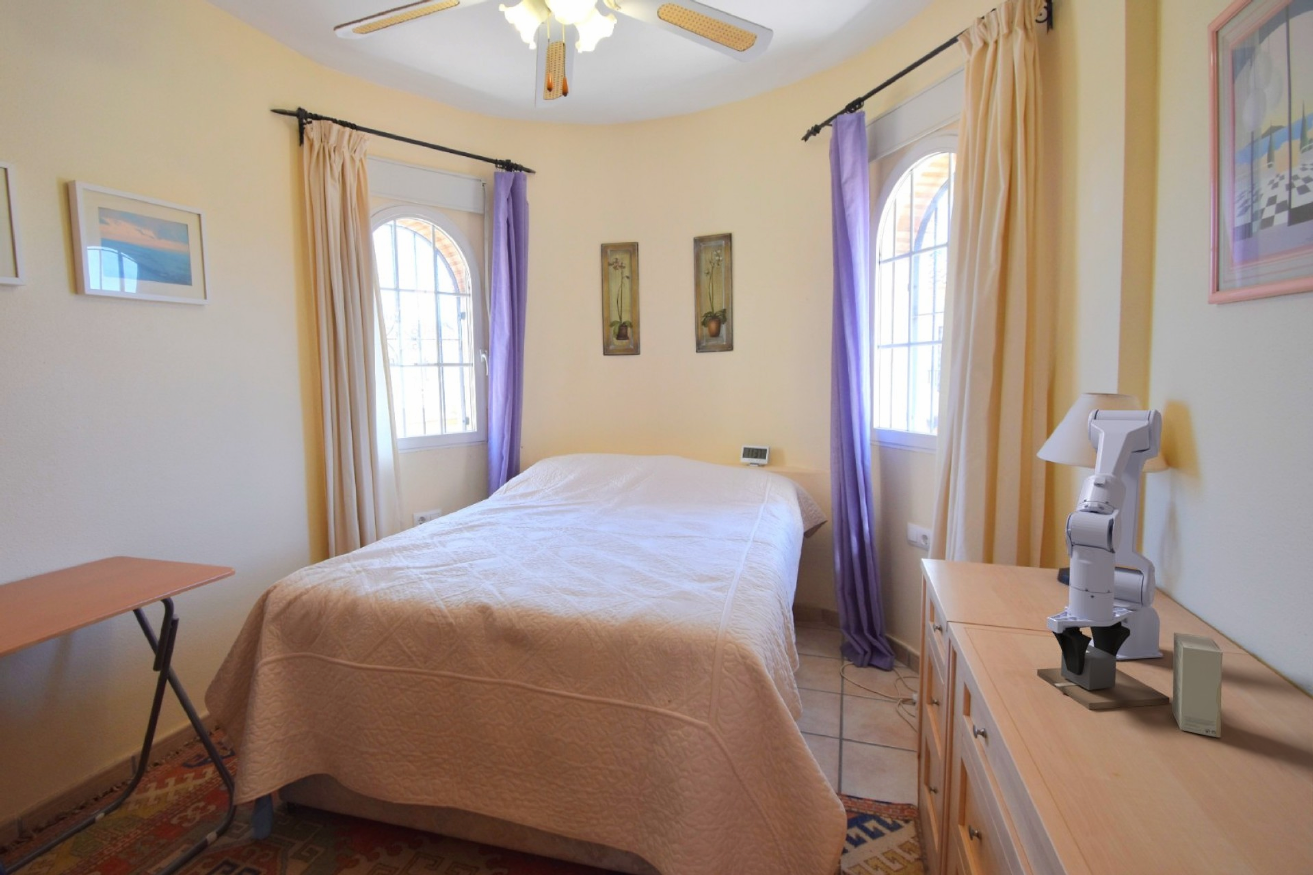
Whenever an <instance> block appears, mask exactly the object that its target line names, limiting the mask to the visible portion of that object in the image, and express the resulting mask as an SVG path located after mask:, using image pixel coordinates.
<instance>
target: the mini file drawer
mask: <svg viewBox="0 0 1313 875" xmlns="http://www.w3.org/2000/svg"><path fill="white" fill-rule="evenodd" d="M1060 665H1061V667H1060V668H1061V676H1063V677H1065V678H1067V679H1069V680H1071V681H1072V682H1074V683H1076V684H1078V685H1080V686H1082V687H1084V688H1086V689H1088V690H1094V689H1101V688H1108V687H1115V679H1116V668H1117V660H1116V656H1113V655H1111V654H1109V653H1107V652H1104V651H1102V650H1100V649H1098V648H1095V647H1093V646H1091V645H1088V647H1087V650H1086V653H1085V658H1084V668H1083V672H1082V675H1076V674H1074V673H1072V672H1070V671H1068V670H1067V667H1066V663H1065V660H1064V656H1063V653H1062V652H1061V664H1060Z"/></svg>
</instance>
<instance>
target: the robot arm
mask: <svg viewBox="0 0 1313 875" xmlns="http://www.w3.org/2000/svg"><path fill="white" fill-rule="evenodd" d="M1162 424H1163V420H1162V414H1161V412H1159V410H1158V409H1152V410H1149V409H1147V410H1143V409H1142V410H1139V409H1138V410H1137V409H1136V410H1133V409H1131V410H1128V409H1126V410H1125V409H1124V410H1123V409H1121V410H1120V409H1116V410H1115V409H1114V410H1113V409H1112V410H1111V409H1110V410H1109V409H1097V408H1096V409H1092V411H1091V412H1090V413H1089V415H1088V419H1087V430H1086V432H1087V438H1088V441H1089V442H1090V443H1091V446H1092V448H1093V449H1094V452H1095V453H1096V461H1095V465H1094V466H1095V469H1094V474H1092V475H1089V476H1087V477H1086V478H1085V479H1084V481H1083V484H1082V487H1081V491H1080V493H1079V494H1080V495H1079V498H1078V502H1077V504H1076V509H1075V512H1074V513H1071V512H1070V513H1069V514H1068V516H1067V518H1066V522H1065V540H1066V547H1067V548H1066V549H1067V552H1066V554H1067V557H1069V559H1070V560H1069V586H1068V587H1069V590H1068V591H1069V594H1068V605H1065V606H1064V611H1061V612H1059V613H1057V614H1054V615H1051V616H1050V615H1049V616H1047V617H1046V619H1047V620H1046V629H1047V630H1050V631H1051V632H1052V634H1053V636H1054V637H1055V639H1056V640H1057V643H1058V644H1059V647H1060V650H1061V654H1062V653H1063V656H1064V660H1065V663H1066V667H1067V670H1068V671H1070V672H1072V673H1074V674H1076V675H1082V672H1083V668H1084V658H1085V653H1086V650H1087V647H1088V645H1091V646H1093V647H1095V648H1098V649H1100V650H1102V651H1104V652H1107V653H1109V654H1111V655H1113V656H1116V661H1121V660H1135V659H1137V660H1139V659H1151V658H1152V659H1153V658H1163V656H1164V655H1163V653H1161V652H1160V629H1161V627H1160V625H1161V619H1160V617H1159V614H1158V612H1157V610H1156V609H1155V608H1154V606H1152V605H1153V604H1154V600H1155V595H1156V575H1155V574H1156V573H1155V570H1156V567H1155V565H1154V564H1153V562H1152V561H1151V560H1149V559H1148V558H1147V557H1146V556H1145V555H1143V554H1142V553H1141V552H1139V551H1138V550H1137V545H1138V544H1137V543H1138V542H1137V541H1138V531H1139V530H1138V529H1139V517H1140V516H1139V514H1140V502H1141V489H1142V487H1141V486H1142V476H1143V475H1142V474H1143V469H1144V467H1145V464H1146V462H1147V460H1151V459H1154V458H1157V457H1158V456H1159V452H1160V451H1161V443H1162V442H1161V439H1162V429H1163V428H1162V427H1163V425H1162ZM1116 565H1118V566H1116ZM1122 566H1125V567H1122ZM1127 567H1128V568H1127ZM1129 567H1130V568H1129ZM1133 568H1135V569H1133ZM1084 628H1089V629H1090V632H1091V636H1092V637H1091V636H1088V635H1086V634H1084V633H1083V631H1081V629H1084Z"/></svg>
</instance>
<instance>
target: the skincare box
mask: <svg viewBox="0 0 1313 875" xmlns="http://www.w3.org/2000/svg"><path fill="white" fill-rule="evenodd" d="M1223 653H1224V651H1222V649H1221V647H1220V646H1219V645H1218V644H1217V643H1216V641H1215V639H1213V638H1212V637H1210V636H1209V637H1208V636H1202V635H1194V634H1188V633H1187V634H1186V633H1181V632H1173V656H1172V657H1173V666H1172V668H1173V672H1172V714H1173V716H1174V718H1175V720H1176V722H1177V725H1178V727H1179V729H1180V730H1181V731H1186V732H1189V733H1193V734H1199V735H1203V736H1208V737H1213V738H1218V739H1219V738H1221V733H1222V730H1221V729H1222V728H1221V727H1222V724H1221V723H1222V683H1223V682H1222V678H1223V677H1222V676H1223Z"/></svg>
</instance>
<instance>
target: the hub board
mask: <svg viewBox="0 0 1313 875" xmlns="http://www.w3.org/2000/svg"><path fill="white" fill-rule="evenodd" d="M1036 672H1037V673H1036V676H1038V677H1039V678H1041V679H1042V680H1044V681H1046V682H1047V683H1048V684H1050V685H1052V686H1053V687H1054V688H1056V689H1058V690H1059V691H1061V692H1062V693H1064V694H1065V695H1066V696H1068V697H1069V698H1071V699H1072V700H1074V701H1075V702H1077V703H1078V704H1080V705H1081V706H1082V707H1084V708H1086V709H1087V710H1101V709H1115V708H1116V709H1117V708H1129V707H1142V706H1143V707H1145V706H1154V705H1155V706H1158V705H1159V706H1160V705H1170V700H1171V699H1170V698H1171V697H1170V696H1168V695H1165V694H1164V693H1162V692H1160V691H1159V690H1157V689H1155V688H1154V687H1151V686H1149V685H1147V684H1146V683H1144V682H1142V681H1140V680H1139V679H1137V678H1135V677H1133V676H1131V675H1130V674H1128V673H1126V672H1124V671H1122V670H1120V669H1118V668H1117V667H1116V679H1115V687H1108V688H1101V689H1094V690H1088V689H1086V688H1084V687H1082V686H1080V685H1078V684H1076V683H1074V682H1072V681H1071V680H1069V679H1067V678H1065V677H1063V676H1061V667H1054V668H1053V667H1050V668H1040V669H1036Z"/></svg>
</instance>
